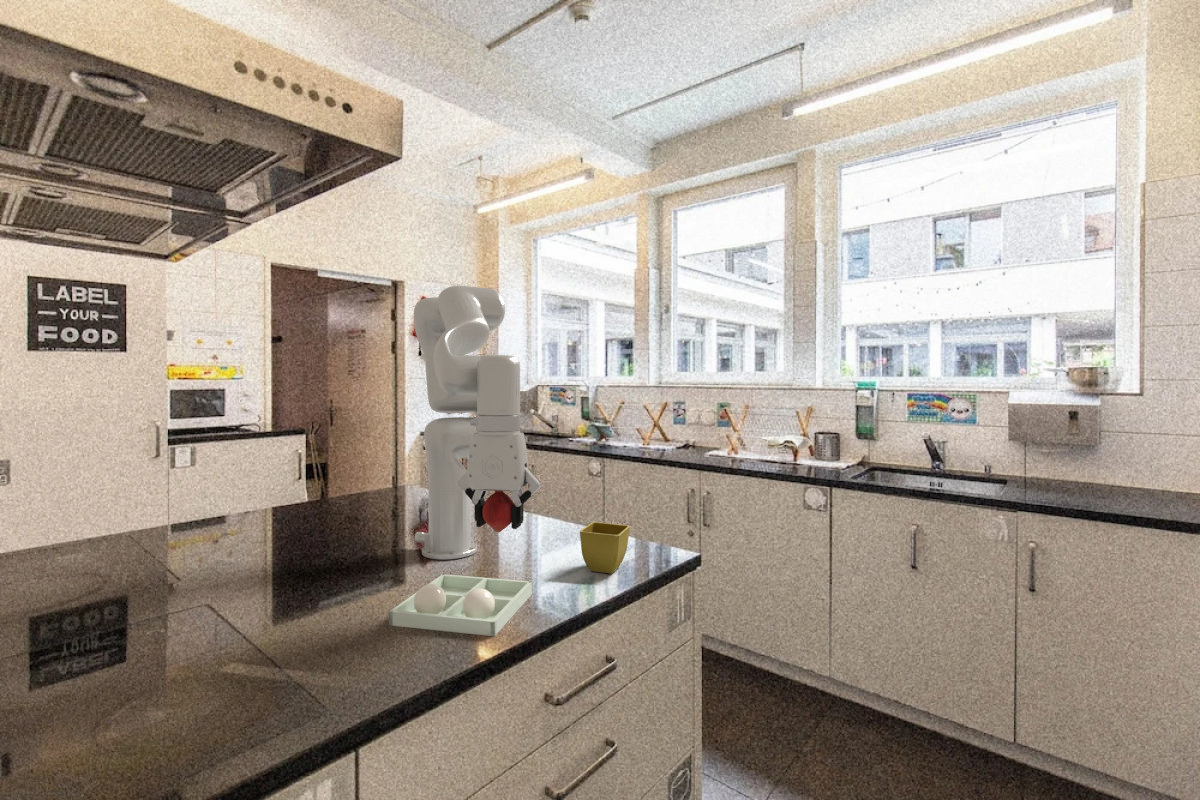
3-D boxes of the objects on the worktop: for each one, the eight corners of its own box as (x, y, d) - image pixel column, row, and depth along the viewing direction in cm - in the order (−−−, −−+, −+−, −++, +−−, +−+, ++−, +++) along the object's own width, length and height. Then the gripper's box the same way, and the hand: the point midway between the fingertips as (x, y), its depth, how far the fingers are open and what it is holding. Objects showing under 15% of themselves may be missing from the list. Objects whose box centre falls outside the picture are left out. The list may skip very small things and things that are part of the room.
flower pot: (630, 565, 124) (630, 525, 124) (618, 578, 116) (618, 535, 116) (592, 561, 127) (592, 521, 127) (578, 573, 119) (578, 531, 119)
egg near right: (456, 625, 91) (456, 593, 91) (470, 613, 96) (470, 582, 96) (487, 628, 90) (487, 596, 90) (499, 615, 95) (499, 585, 95)
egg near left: (407, 620, 93) (407, 589, 93) (423, 608, 98) (423, 578, 98) (436, 623, 92) (436, 592, 92) (451, 611, 97) (451, 581, 97)
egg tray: (388, 631, 91) (388, 611, 91) (442, 590, 109) (442, 574, 109) (494, 642, 87) (494, 621, 87) (532, 598, 105) (532, 581, 105)
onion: (518, 528, 104) (518, 484, 103) (510, 536, 98) (510, 490, 98) (487, 527, 104) (487, 484, 104) (478, 535, 98) (477, 489, 98)
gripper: (443, 425, 99) (444, 528, 99) (538, 427, 95) (538, 534, 96) (462, 422, 106) (463, 518, 106) (551, 424, 102) (551, 523, 103)
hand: (499, 525), depth 101 cm, fingers closed on onion, 5 cm apart
